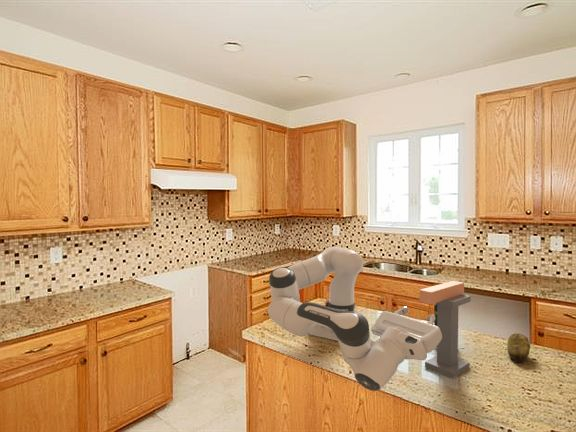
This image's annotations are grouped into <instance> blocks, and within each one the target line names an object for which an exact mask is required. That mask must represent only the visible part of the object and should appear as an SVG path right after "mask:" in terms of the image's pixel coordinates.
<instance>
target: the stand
mask: <svg viewBox="0 0 576 432" xmlns="http://www.w3.org/2000/svg"><path fill="white" fill-rule="evenodd" d="M471 297H472V296H471V295H467V294H461V295H458V296H455V297H452V298H449V299H446V300H443V301H440V302H437V303H434V305H435V304H437V326H438V327H439V328H440V331H441V333H442V339H441V341H440V342H439V344H438V345H437V348H436V356H433V357H431V358H429V359H428V360H427V359H426V361H425V360H424V368H425V369H428V370H431V371H433V372H435V373H438V374H439V375H442V376H446V377H447V378H450V379H454V378H456V377H458V376H459V375H461V374H463V373H464V372H465V371H467V370H469V369H470V367H471V365H470V362H469V361H466V360H464V359H461V358H459V307H460V306H463V305H465V304H468V303H470V302H471Z"/></svg>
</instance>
